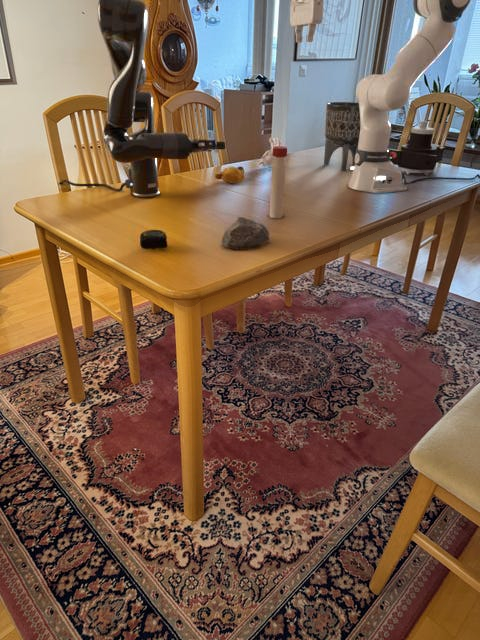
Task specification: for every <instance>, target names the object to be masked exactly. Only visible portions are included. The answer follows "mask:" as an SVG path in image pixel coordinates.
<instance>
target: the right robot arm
mask: <svg viewBox="0 0 480 640" xmlns="http://www.w3.org/2000/svg"><path fill="white" fill-rule="evenodd" d="M412 1H413V3H412V4H413V10H414V12H415V14H416V15H417V16H418V17H420V18H422V19H426V20H425V22H424V24H423V26H422V27H421V29H420V30H418V31H417V32H416V34H415V35H413V37H411V38H410V40H409V41H408V42H407V43H406V44H405V45H404V46H403V47H402V48H401V49H400V50H399V51H398V52H397V53H396V55H395V58H394V62H393V64H392V66H391V67H390V68H389V69H388V71H386V73H384V74H377V73H374V74H373V73H372V74H370V75H368V76H365V77H363V78H362V79H361V80H359V82H358V83H357V85H356V89H355V97H356V99H357V101H358V102H357V103H359V109H360V135H359V142H358V148H357V149H356V155H355V166H350V170H353V171H352V174H351V176H350V180H349V182H348V184H347V187H348V188H350V189H352V190H355V191H359V192H367V193H372V194H386V193H387V194H388V193H393V192H394V193H395V192H404V191H408V186H406V185H410V184H414V183H416V182H421V181H424V180H458V181H472V180H475V179H477V178H480V174H479V173H477V174H476V175H475V176H474V177H444V176H427V177H422V178H421V177H420V178H417V179H414V180H412V181H411V182H407V178H406V176H405V173H404V172H402V171H400V170H399V169H398V168H397V167H398V166H397V165H394V164H393V163H392V162H391V161H390V158H395V157H396V156H397V154H395V152H390V151H388V149H389V145H390V139H391V135H392V134H391V133H392V126H391V123H390V122H389V112H392V111H397V110H400V109H402V108H403V107H405V105H406V104H407V103H408V101H409V99H410V97H411V89H412V88H413V86H414V85H415V83H416V82H417V80H418V79H419V78H420V76H422V74H424V72H425V71H426V70H427V69H429V67H430V66H431V65H432V64H433V63H434V62H435V61H436V60H437V59H438V58H439V57H440V55H442V53H443V52H444V51H445V50H446V49H447V48H448V46H449V45H450V43H451V42H452V40H453V39H454V37H455V33H456V27H455V24H454V23H455V22H456V21H458V20H460V19H461V18H462V17H463V14H464V11H466V9H467V8H468V6H469V5H470V2H471V0H412ZM324 4H325V2H324V0H290V4H289V5H290V6H289V23H290V27H293V28H294V32H295V42H296V44H298V43H300V44H302V43H303V38H304V36H303V30H304V29H303V28H304V27H307V34H306V37H305V42H306V43H313V41H314V35H315V32H316V30H317V25H321V24H322V22H323V19H324Z"/></svg>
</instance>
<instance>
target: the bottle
mask: <svg viewBox="0 0 480 640" xmlns="http://www.w3.org/2000/svg"><path fill="white" fill-rule="evenodd" d="M286 165H287V164H286V159H285V157H275V159H274V162H273V166H272V168H271V179H270V180H271V181H270V200H269V218H271V219H282V218H283V217H284V216H283V215H284V204H285V203H284V202H285V190H286V189H285V187H286V171H287V166H286Z"/></svg>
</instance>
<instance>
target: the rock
mask: <svg viewBox="0 0 480 640" xmlns="http://www.w3.org/2000/svg"><path fill="white" fill-rule="evenodd" d="M269 241H270V233H269V230H268V229H267V228H266V226H265V225H263V224H261V223H259V222H256V221H255V220H252V219H247V218H245V217H241V216H238V217H237V218H236V219H235V221H234V222H233V223H232V224H231V225H229V226H228V227H227V228H226V229H225V231H224V233H223V236H222V239H221V244H222V247H224V248H229V249H231V250H245V249H254V248H257V247H259V246H260V245H264V244H266V242H269Z"/></svg>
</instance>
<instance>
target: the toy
mask: <svg viewBox="0 0 480 640" xmlns="http://www.w3.org/2000/svg"><path fill="white" fill-rule="evenodd" d="M214 177H215V180H222V181H223V182H227V183H228V184H238V183H240V182H243V181H244V180H245V179H246V175H245V169H244V166H238V167H237V166H236V167H235V166H233V165H232V166H228V167H224V168H223V169H222V171H220V172H219V173H216V174H215V175H214Z"/></svg>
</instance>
